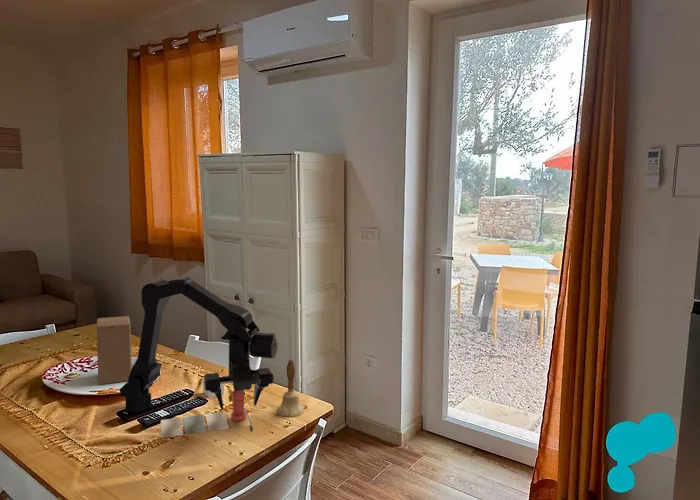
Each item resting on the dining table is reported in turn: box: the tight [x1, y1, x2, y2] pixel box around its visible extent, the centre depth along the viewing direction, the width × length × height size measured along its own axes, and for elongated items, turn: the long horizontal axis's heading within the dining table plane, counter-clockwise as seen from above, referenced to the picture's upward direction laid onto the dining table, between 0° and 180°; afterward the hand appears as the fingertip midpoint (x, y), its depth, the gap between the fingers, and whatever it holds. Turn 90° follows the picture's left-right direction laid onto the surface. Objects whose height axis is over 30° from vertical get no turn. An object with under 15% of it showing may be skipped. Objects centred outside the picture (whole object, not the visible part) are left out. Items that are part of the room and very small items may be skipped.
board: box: [160, 407, 254, 439], centre depth 139 cm, size 24×12×1 cm, turn 111°
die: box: [202, 380, 225, 398], centre depth 157 cm, size 5×5×5 cm
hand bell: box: [276, 359, 305, 418], centre depth 149 cm, size 8×8×16 cm
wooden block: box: [96, 315, 132, 385], centre depth 168 cm, size 10×10×20 cm
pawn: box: [231, 389, 246, 422], centre depth 141 cm, size 4×4×9 cm
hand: (238, 407), depth 141 cm, fingers open, 9 cm apart
